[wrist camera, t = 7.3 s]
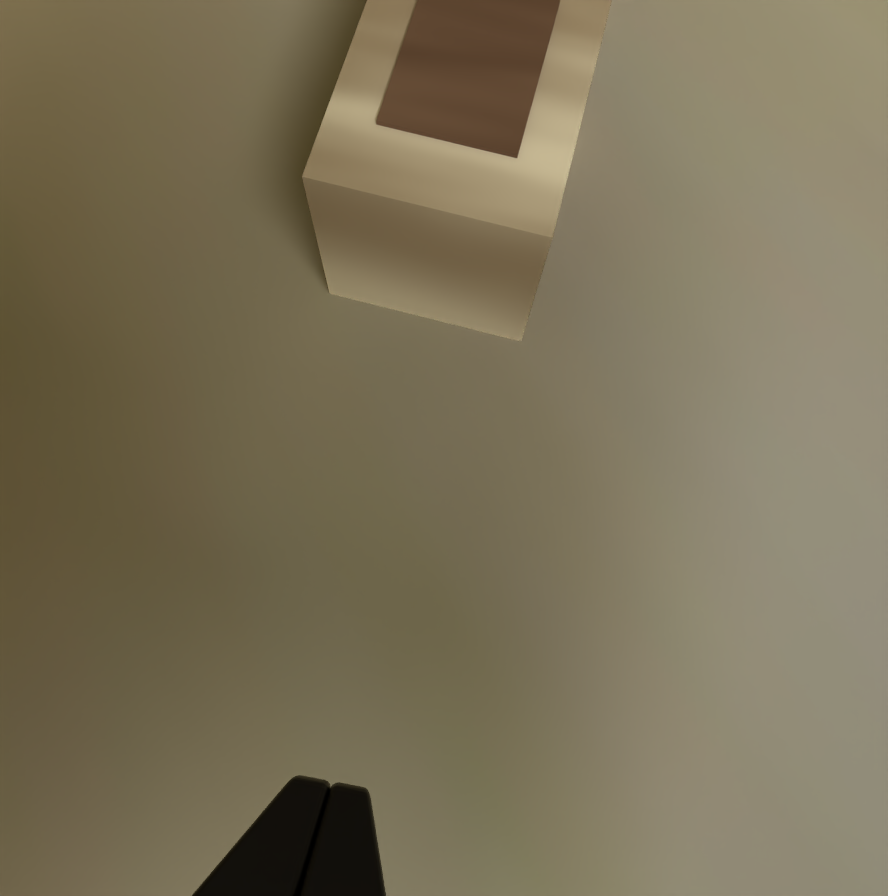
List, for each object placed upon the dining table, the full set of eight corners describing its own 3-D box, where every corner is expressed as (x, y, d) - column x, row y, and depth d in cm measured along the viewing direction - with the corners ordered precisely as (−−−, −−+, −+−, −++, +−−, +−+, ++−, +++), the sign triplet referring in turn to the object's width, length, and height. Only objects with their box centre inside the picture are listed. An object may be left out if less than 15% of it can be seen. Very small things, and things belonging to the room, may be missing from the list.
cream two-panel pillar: (553, 235, 13) (671, -240, 16) (301, 173, 13) (470, -283, 17) (519, 346, 17) (618, -47, 21) (330, 298, 18) (459, -83, 21)
